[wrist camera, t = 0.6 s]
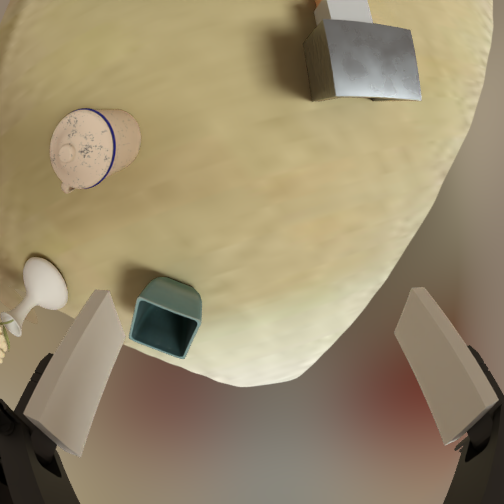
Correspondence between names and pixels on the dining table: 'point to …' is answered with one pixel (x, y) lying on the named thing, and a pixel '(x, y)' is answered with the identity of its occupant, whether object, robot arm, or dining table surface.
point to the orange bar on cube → (343, 10)
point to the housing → (361, 62)
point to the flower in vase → (34, 297)
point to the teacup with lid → (93, 146)
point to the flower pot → (167, 317)
